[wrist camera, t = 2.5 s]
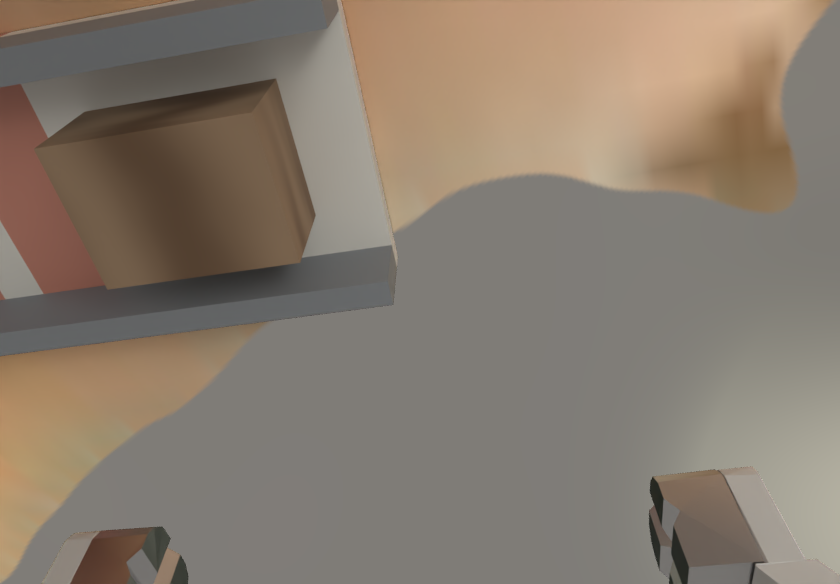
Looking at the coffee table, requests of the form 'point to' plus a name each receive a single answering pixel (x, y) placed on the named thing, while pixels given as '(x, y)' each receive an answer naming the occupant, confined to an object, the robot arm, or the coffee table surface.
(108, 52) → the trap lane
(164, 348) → the coffee table surface
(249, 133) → the walnut block
